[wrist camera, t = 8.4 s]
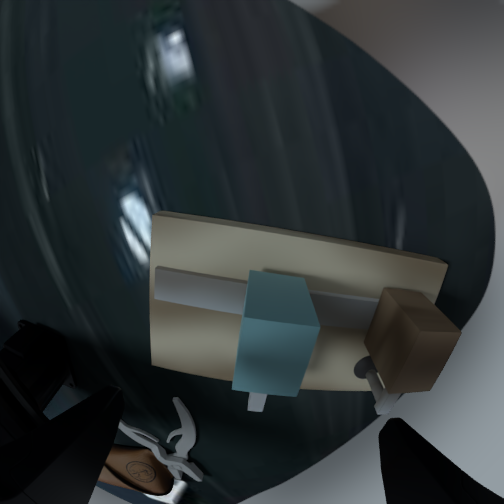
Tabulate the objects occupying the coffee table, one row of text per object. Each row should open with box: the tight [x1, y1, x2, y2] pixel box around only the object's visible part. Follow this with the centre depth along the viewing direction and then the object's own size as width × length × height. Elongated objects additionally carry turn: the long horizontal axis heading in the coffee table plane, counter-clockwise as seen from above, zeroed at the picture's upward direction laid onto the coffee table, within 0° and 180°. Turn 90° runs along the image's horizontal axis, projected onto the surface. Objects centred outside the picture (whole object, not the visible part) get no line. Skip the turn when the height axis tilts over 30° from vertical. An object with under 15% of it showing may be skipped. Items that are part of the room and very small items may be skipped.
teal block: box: [232, 270, 320, 412], centre depth 14 cm, size 7×3×5 cm, turn 171°
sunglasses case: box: [98, 444, 174, 496], centre depth 25 cm, size 18×7×7 cm, turn 100°
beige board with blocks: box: [150, 211, 462, 415], centre depth 15 cm, size 11×19×7 cm, turn 81°
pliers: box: [119, 397, 203, 481], centre depth 24 cm, size 10×2×15 cm
